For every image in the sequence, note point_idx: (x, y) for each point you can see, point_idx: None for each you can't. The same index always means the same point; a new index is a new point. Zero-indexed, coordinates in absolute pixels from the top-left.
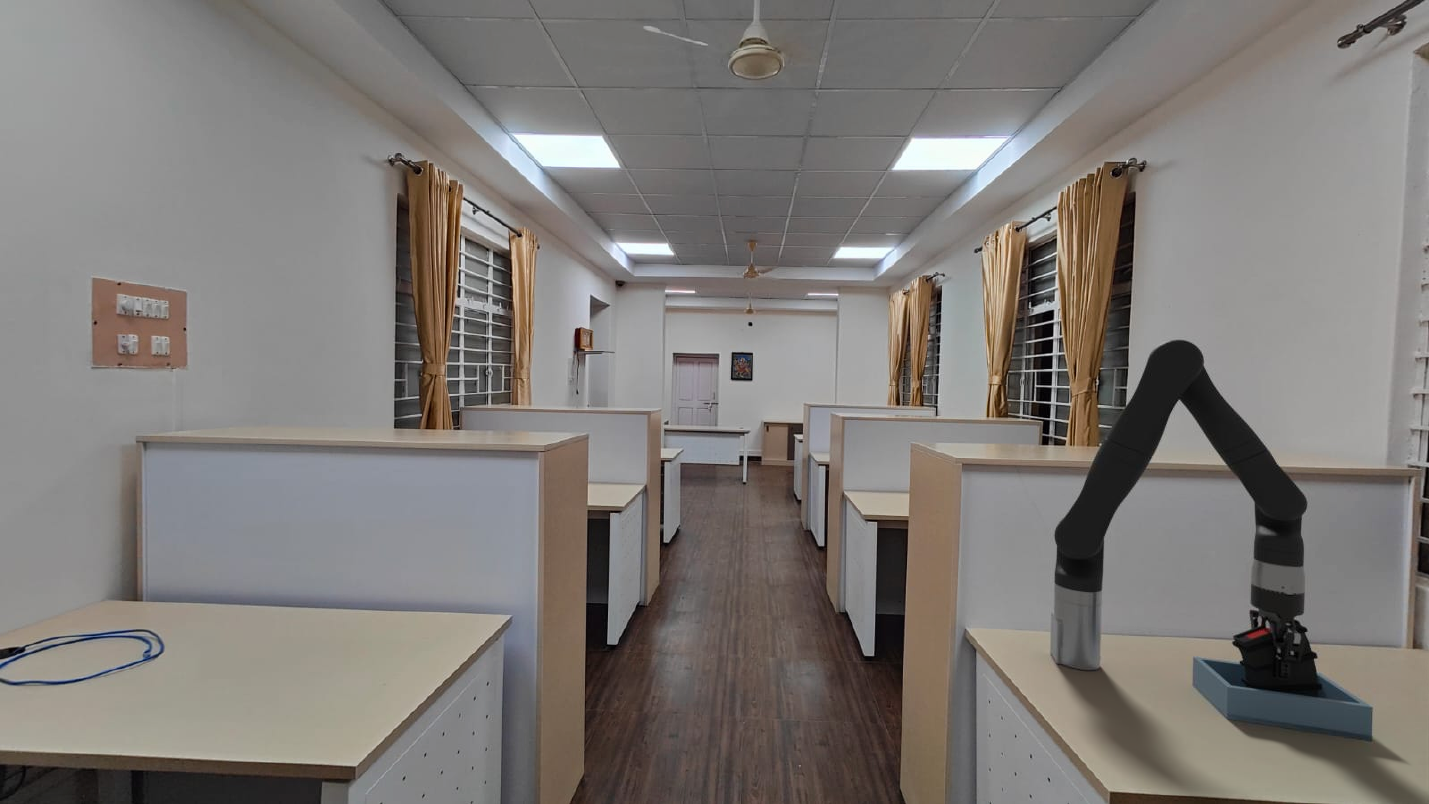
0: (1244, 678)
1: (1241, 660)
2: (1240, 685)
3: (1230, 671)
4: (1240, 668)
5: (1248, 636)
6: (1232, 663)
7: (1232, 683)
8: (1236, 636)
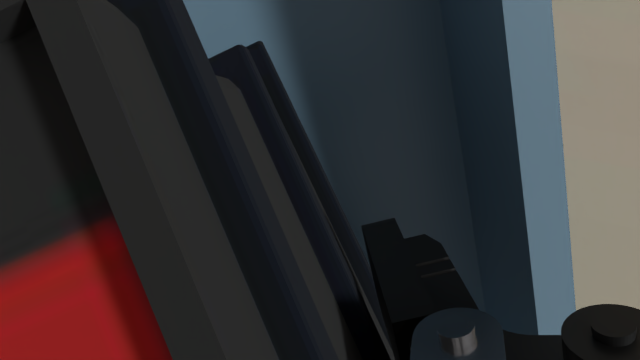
0: (264, 64)
1: (245, 66)
2: (453, 58)
3: (474, 2)
4: (496, 79)
5: (36, 280)
6: (502, 22)
7: (448, 11)
8: (54, 37)
